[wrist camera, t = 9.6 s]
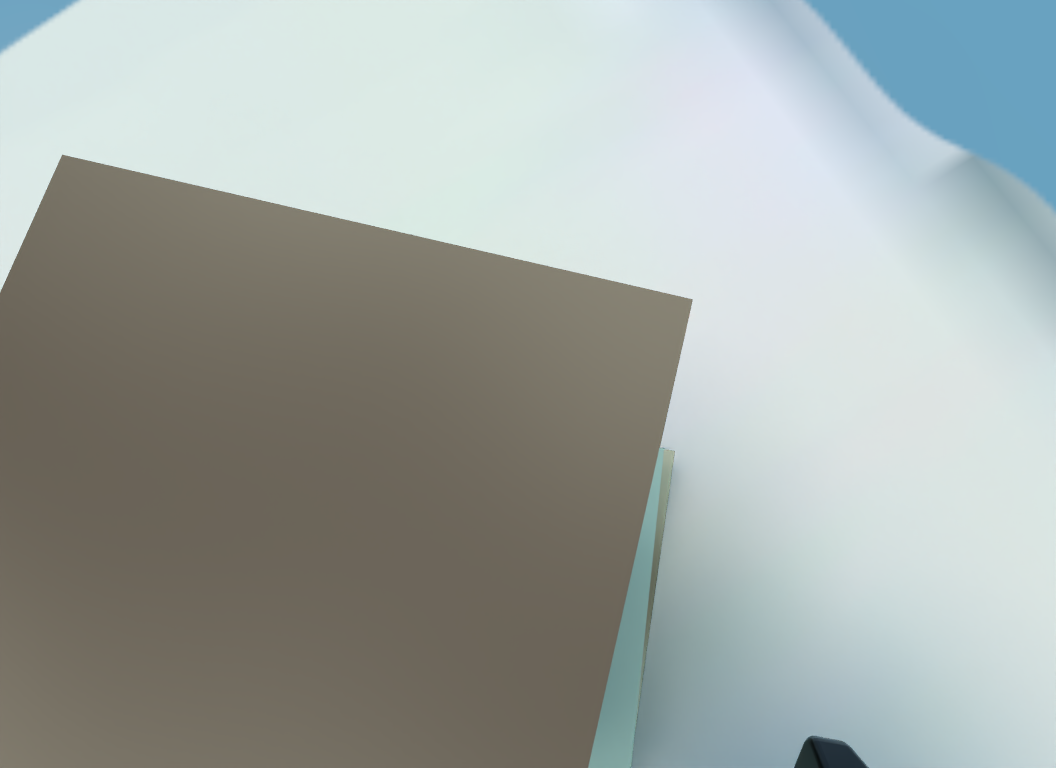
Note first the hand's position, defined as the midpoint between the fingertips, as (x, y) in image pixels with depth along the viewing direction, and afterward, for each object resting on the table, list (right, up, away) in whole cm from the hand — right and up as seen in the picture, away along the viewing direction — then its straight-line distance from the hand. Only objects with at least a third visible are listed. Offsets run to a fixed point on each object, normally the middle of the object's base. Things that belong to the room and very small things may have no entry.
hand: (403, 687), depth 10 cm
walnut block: (0, -1, +9) cm, 9 cm away
